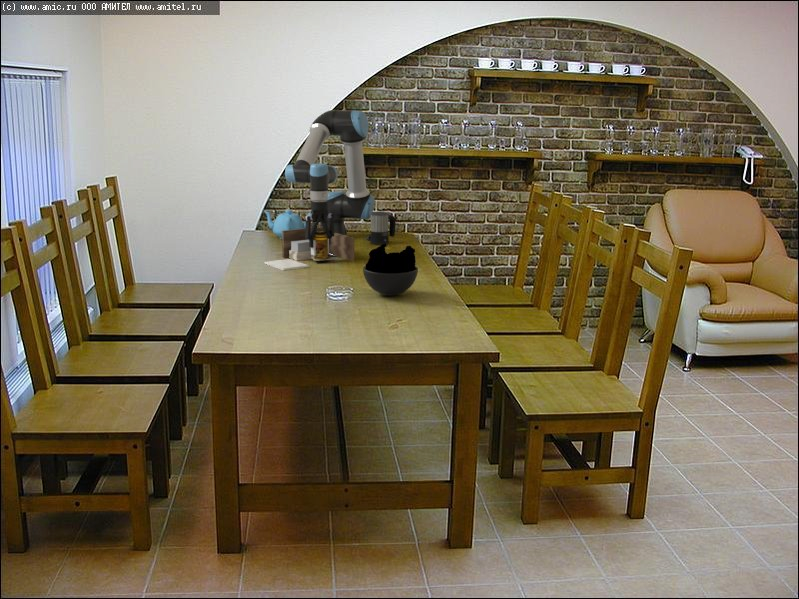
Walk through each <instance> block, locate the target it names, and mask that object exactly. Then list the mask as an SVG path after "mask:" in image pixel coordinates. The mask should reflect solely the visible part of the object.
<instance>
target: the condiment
mask: <svg viewBox="0 0 799 599" xmlns="http://www.w3.org/2000/svg"><path fill="white" fill-rule="evenodd" d="M314 240H316V255H315V256H314V257H311V258H312V259H311V260H313V261H329V260H330V261H331V260H332V259H331V257H329V254H328V238H327V232H326V231H316V233H315V237H314Z"/></svg>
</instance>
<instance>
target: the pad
mask: <svg viewBox="0 0 799 599" xmlns="http://www.w3.org/2000/svg"><path fill="white" fill-rule="evenodd" d="M266 264H267V266H269V265H270V266H269V267H272V268H274V269H275V268H276V269H278V270H281V271H290V270H297V269H298V270H299V269H304V268H309V267H310V266H309V264H305V263H303V262H301V261H296V260H293V259H289V258H283V259H277V260H270V261H264V265H266Z"/></svg>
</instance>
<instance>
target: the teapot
mask: <svg viewBox="0 0 799 599" xmlns="http://www.w3.org/2000/svg"><path fill="white" fill-rule="evenodd" d="M284 211H285V212H282V213H279V214H278V215H277V216H276V218H275V220H274V221H273V220H272V215H271V213H270V212H269V211H266V210H263V212H264V213H265V214H266V216H267V225H268V227H269V229H270V230H272V232H273V234H274V235H275V236H276V237H279V238H278V240H279V239H282V231H283V230H293V229H303V228H305V225H306V221H303V220H302V218H301V216H300V215H299V214H298V213H295V212H292V210H291V209H285V210H284ZM310 213H311V211H310V212H308V213H307V215H306V216H308V215H310Z"/></svg>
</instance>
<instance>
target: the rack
mask: <svg viewBox="0 0 799 599" xmlns="http://www.w3.org/2000/svg"><path fill="white" fill-rule="evenodd" d="M316 231H324V230H323V227H319V226H317V229H316ZM355 239H356V238H355V237H354V236H349V235H348V236H346V235H342V234H338V233H334V236H332V238H331V239H330V246H329V253H331V254H333V255H335V257H337V258H341V259H343V260H347V261H351V262H354V261H355ZM299 240H308V239H306V238H305V228H303V229H293V230H283V231H282V240H281V258H282V257H283V259H288V258H287V257H289V250H291V241H299ZM333 255H332V256H333Z"/></svg>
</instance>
